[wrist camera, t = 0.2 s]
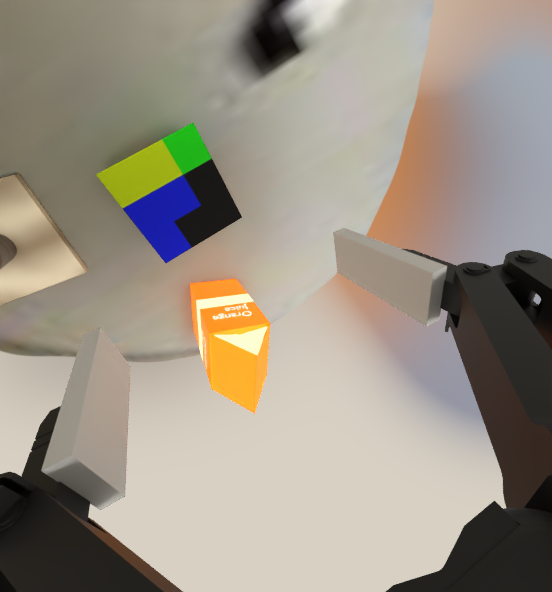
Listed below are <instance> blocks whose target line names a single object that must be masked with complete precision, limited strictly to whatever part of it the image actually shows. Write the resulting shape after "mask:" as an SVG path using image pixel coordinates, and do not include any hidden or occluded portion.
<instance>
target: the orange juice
mask: <svg viewBox="0 0 552 592" xmlns="http://www.w3.org/2000/svg"><path fill="white" fill-rule="evenodd" d="M190 290H191V303H192V315H193V327H194V332H195V336H196V339H197V342H198V345H199V349H200V353H201V356H202V359H203V362H204V365H205V368H206V371H207V375H208V378H209V381H210V384H211V389H212V390H215V391H217V392H218V393H220V394H222V395H223V396H225V397H227V398H229V399H230V400H232V401H234V402H236V403H237V404H239V405H241V406H243V407H244V408H246V409H248V410H250V411H251V412H253V413H255V411H256V407H257V404H258V401H259V398H260V394H261V391H262V388H263V385H264V382H265V378H266V375H267V362H268V348H269V334H270V323H269V321H268V320H267V319H266V317H265V316H264V315H263V313H262V312H261V311H260V309H259V308H258V307H257V306H256V304H255V303H254V301H253V300H252V298H251V297H250V296H249V295H248V294H247V293H246V291H245V290H244V289H243V287H242V286H241V285H240V283H239V282H238V281H237V279H229V280H220V281H210V282H201V283H191V284H190Z"/></svg>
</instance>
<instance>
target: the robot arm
mask: <svg viewBox="0 0 552 592" xmlns="http://www.w3.org/2000/svg"><path fill="white" fill-rule="evenodd" d="M333 233H334V243H335V252H336V262H337V271H338V273H339V274H341V275H342V276H344V277H346V278H347V279H349V280H351V281H352V282H354V283H356V284H357V285H359V286H361V287H362V288H364V289H366V290H367V291H369V292H370V293H372V294H374V295H376V296H377V297H379V298H380V299H382V300H384V301H385V302H387V303H389V304H390V305H392V306H394V307H396V308H397V309H399V310H401V311H402V312H404V313H405V314H407V315H408V316H410V317H412V318H413V319H415V320H417V321H418V322H420V323H422V324H423V325H425V326H428V325H430V324H432V323H434V322H435V321H437V320H439V317H440V311H441V308H442V309H444V310H446V311H448V315H447V320H446V326H445V332H448V328H449V327H450V328H451V330H452V333H453V336H454V339H455V342H456V344H457V347H458V350H459V353H460V356H461V359H462V362H463V364H464V367H465V370H466V373H467V375H468V378H469V381H470V384H471V387H472V390H473V392H474V395H475V398H476V401H477V404H478V407H479V409H480V412H481V415H482V418H483V420H484V423H485V426H486V429H487V432H488V435H489V438H490V440H491V443H492V446H493V449H494V452H495V454H496V457H497V460H498V463H499V466H500V468H501V472H502V477H503V494H504V500H505V504H506V507H507V508H506V509H503V508H501V507H500V506H499V505H498V504H497V503H496V502H495V501H494V502H492V503H491V504H490V505H489V506H488V507H486V508H485V509H484V510H483V511H482V512H480V513H479V514H478V515H477V516H476V517H474V518H473V519H472V520H471V521H470V522H468V523H467V524H466V525H465V526H464V528H463V530H462V532H461V534H460V536H459V538H458V540H457V542H456V544H455V546H454V548H453V550H452V551H451V554H450V555H449V557H448V560H447V562H446V563H445V565H444V567H443V568H442V569H441V570H440V571H437V572H435V573H431V574H428V575H425V576H422V577H419V578H415V579H412V580H409V581H406V582H403V583H399V584H396V585H393V586H392V587H391V588H390V589H389V590H387V591H386V592H552V259H551V258H549V257H547V256H545V255H543V254H541V253H538V252H533V251H530V250H527V251H526V250H521V251H513V252H510V253H508V254H506V256H505V260H504V264H502V265H497V266H493V267H491V266H488V265H486V264H482V263H477V262H468V263H462V264H460V265H458V266H456V265H453V264H450V263H448V262H445V261H442V260H439V259H436V258H434V257H430V256H428V255H425V254H424V255H423V254H422V253H419V252H417V251H414V250H408V249H399V248H397V247H394V246H391V245H389V244H386V243H383V242H381V241H377V240H375V239H373V238H370V237H367V236H364V235H362V234H359V233H356V232H354V231H351V230H348V229H345V228H343V229H341V230H338V231H336V232H333ZM536 293H537V294H538V295H539V296H540V297H541V302H540V304H539V305H538V304H536V303H535V302H534V301H533V299H534V297H535V294H536ZM129 387H130V365H129V364H128V363H127V361H126V360H125V359H124V357H123V356H122V355H121V353H120V352H119V351H118V350H117V348H116V347H115V346H114V344H113V343H112V342H111V340H110V339H109V338H108V336H107V335H106V334H105V333H104V331H103V330H102V329H101V327H100V328H97V329H95V330H92V331H90V332H88V333H85V334H83V337H82V340H81V343H80V346H79V350H78V353H77V356H76V359H75V363H74V366H73V369H72V373H71V375H70V379H69V382H68V385H67V388H66V392H65V395H64V398H63V401H62V405H61V406H60V407H58V408H56V409H54V410H51V411H50V412H49V414H48V415H47V416H46V418H45V419H44V420H43V422H42V423H41V425H40V427H39V430H38V432H37V435H36V438H35V439H36V441H34V443H33V446H32V449H31V450H32V452H30V454H29V457H28V460H27V463H26V466H25V468H24V471H23V474H22V477H21V476H19V475H17V474H16V473H12V472H7V473H3V474H0V592H182V591H181V590H180V589H179V588H177V587H176V586H175V585H174V584H173V583H171V582H170V581H168V580H167V579H166V578H165V577H164V576H162V575H161V574H160V573H159V572H157V571H156V570H155V569H154V568H152V567H151V566H150V565H149V564H147V563H146V562H145V561H143V560H142V559H141V558H140V557H139V556H137V555H136V554H135V553H133V552H132V551H131V550H130V549H128V548H127V547H126V546H125V545H123V544H122V543H121V542H120V541H118V540H117V539H116V538H115V537H113V536H112V535H111V534H110V533H108V532H107V531H106V530H104V529H103V528H102V527H101V526H100V525H98V524H97V523H96V522H95V521H93V520H91V519H90V518H88V513H89V506H90V504H92V505H94V506H95V507H97V508H98V509H100V510H102V509H104V508H105V507H107V506H109V505H111V504H112V503H114V502H116V501H118V500H120V499H121V498H123V497H125V484H126V460H127V459H126V457H127V435H128V412H129Z"/></svg>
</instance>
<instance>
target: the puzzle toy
mask: <svg viewBox="0 0 552 592" xmlns="http://www.w3.org/2000/svg"><path fill="white" fill-rule="evenodd" d="M96 175H97V177H98V178H99V179H100V181H101V182H102V183H103V184H104V186H105V187H106V188H107V189H108V191H109V192H110V193H111V194H112V196H113V197H114V198H115V200H116V201H117V202H118V203H119V205H120V206H121V207H122V208H123V210H124V211H125V212H126V214H127V215H128V216H129V217H130V219H131V220H132V221H133V222H134V224H135V225H136V226H137V227H138V229H139V230H140V231H141V233H142V234H143V235H144V236H145V238H146V239H147V240H148V241H149V243H150V244H151V245H152V246H153V248H154V249H155V250H156V252H157V253H158V254H159V255H160V257H161V258H162V259H163V260H164V262H165V263H167V262H169V261H170V260H172V259H174V258H175V257H177V256H179V255H180V254H182V253H184V252H185V251H187V250H189V249H190V248H192V247H194V246H195V245H197V244H199V243H200V242H202V241H204V240H205V239H207V238H209V237H210V236H212V235H214V234H215V233H217V232H218V231H220V230H222V229H223V228H225V227H227V226H228V225H230V224H232V223H233V222H235V221H237V220H238V219H240V218H242V216H241V214H240V212H239V210H238V208H237V207H236V205H235V203H234V201H233V199H232V197H231V195H230V193H229V191H228V189H227V187H226V185H225V183H224V181H223V179H222V177H221V176H220V174H219V172H218V170H217V168H216V166H215V164H214V162H213V160H212V158H211V156H210V154H209V152H208V150H207V148H206V146H205V144H204V143H203V141H202V139H201V137H200V135H199V133H198V131H197V129H196V127H195V125H194V123H192V124H190V125H188V126H186V127H184V128H182V129H180V130H178V131H177V132H175V133H173V134H171V135H169V136H167V137H165V138H163V139H162V140H160V141H158V142H156V143H154V144H152V145H150V146H148V147H147V148H145V149H143V150H141V151H139V152H137V153H135V154H134V155H132V156H130V157H128V158H126V159H124V160H122V161H120V162H119V163H117V164H115V165H113V166H111V167H109V168H107V169H105V170H104V171H102V172H100V173H98V174H96Z"/></svg>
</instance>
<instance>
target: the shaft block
mask: <svg viewBox="0 0 552 592" xmlns="http://www.w3.org/2000/svg"><path fill="white" fill-rule="evenodd" d="M87 270H88V269H87V268H86V266H85V265H84V263H83V262H82V261H81V259H80V258H79V257H78V255H77V254H76V252H75V251H74V250H73V248H72V247H71V246H70V244H69V243H68V241H67V240H66V239H65V237H64V236H63V235H62V233H61V232H60V230H59V229H58V228H57V226H56V225H55V224H54V222H53V221H52V219H51V218H50V217H49V215H48V214H47V213H46V211H45V210H44V208H43V207H42V206H41V204H40V203H39V202H38V200H37V199H36V197H35V196H34V195H33V193H32V192H31V191H30V189H29V188H28V186H27V185H26V184H25V182H24V181H23V180H22V178H21V177H20V175H19V174H15V175H11V176H7V177H4V178H0V305H2V304H5V303H7V302H10V301H13V300H15V299H18V298H20V297H23V296H26V295H28V294H31V293H34V292H36V291H39V290H41V289H44V288H47V287H49V286H52V285H55V284H57V283H60V282H62V281H65V280H68V279H70V278H73V277H76V276H78V275H81V274H83V273H86V272H87Z"/></svg>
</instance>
